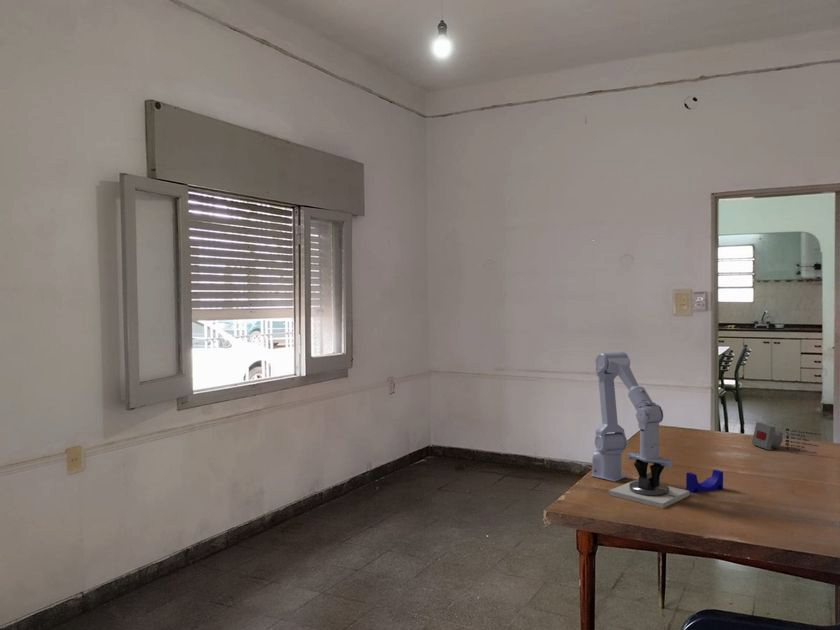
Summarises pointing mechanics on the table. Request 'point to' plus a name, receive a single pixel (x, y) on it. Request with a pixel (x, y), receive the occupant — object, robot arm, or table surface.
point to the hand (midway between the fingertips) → (649, 485)
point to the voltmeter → (772, 437)
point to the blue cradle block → (704, 482)
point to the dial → (648, 486)
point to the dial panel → (652, 500)
